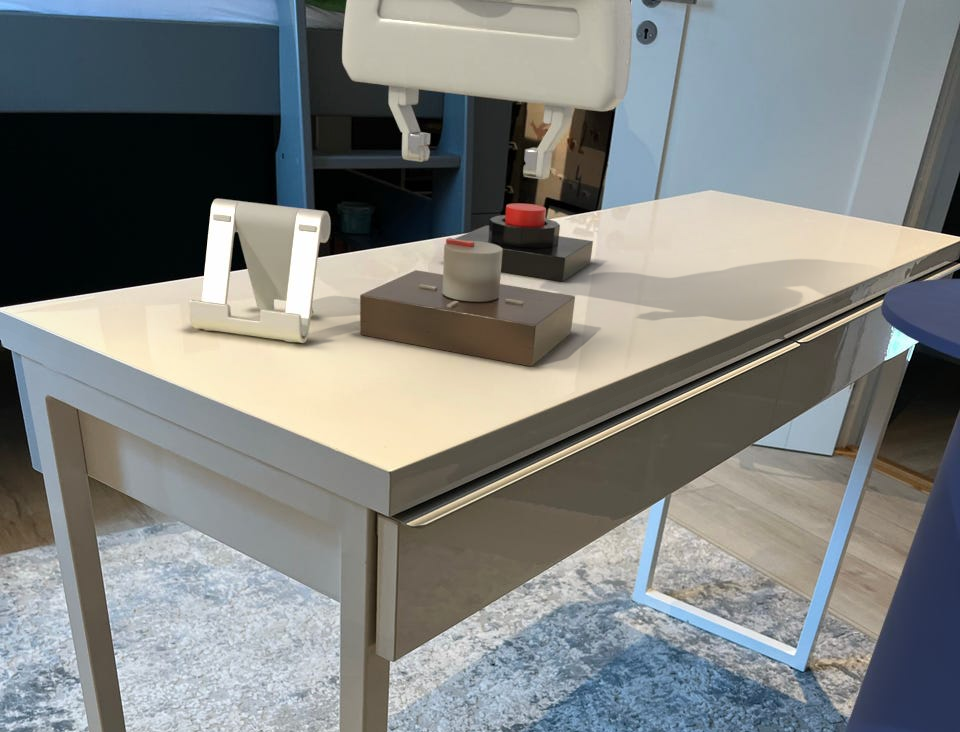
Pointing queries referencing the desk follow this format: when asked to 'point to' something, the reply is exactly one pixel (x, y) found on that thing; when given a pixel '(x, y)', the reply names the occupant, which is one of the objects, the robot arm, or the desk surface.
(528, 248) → the button box
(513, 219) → the button
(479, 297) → the dial
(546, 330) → the panel
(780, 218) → the desk surface
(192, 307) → the tablet stand
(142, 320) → the desk surface
